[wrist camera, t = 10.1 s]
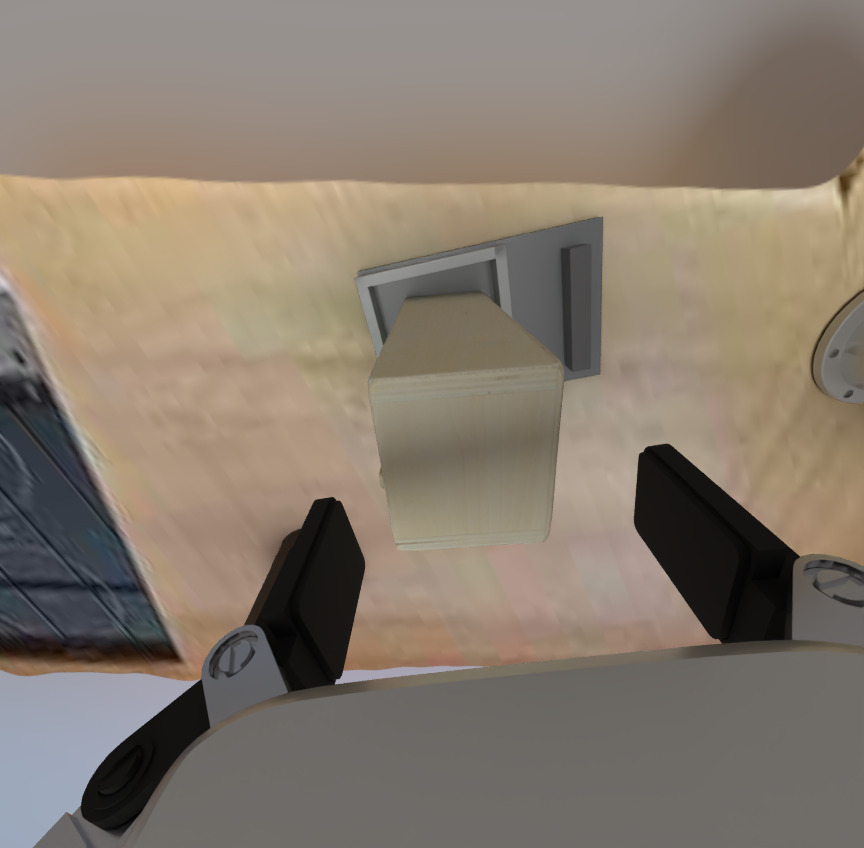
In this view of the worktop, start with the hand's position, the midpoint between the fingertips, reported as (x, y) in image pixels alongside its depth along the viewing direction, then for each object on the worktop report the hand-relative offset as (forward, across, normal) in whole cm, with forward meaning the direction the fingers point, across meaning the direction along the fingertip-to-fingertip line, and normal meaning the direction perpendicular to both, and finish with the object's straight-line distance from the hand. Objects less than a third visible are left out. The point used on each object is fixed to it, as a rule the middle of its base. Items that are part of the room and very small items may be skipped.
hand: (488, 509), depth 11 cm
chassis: (+24, -3, 0) cm, 25 cm away
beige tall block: (+23, +1, 0) cm, 23 cm away
